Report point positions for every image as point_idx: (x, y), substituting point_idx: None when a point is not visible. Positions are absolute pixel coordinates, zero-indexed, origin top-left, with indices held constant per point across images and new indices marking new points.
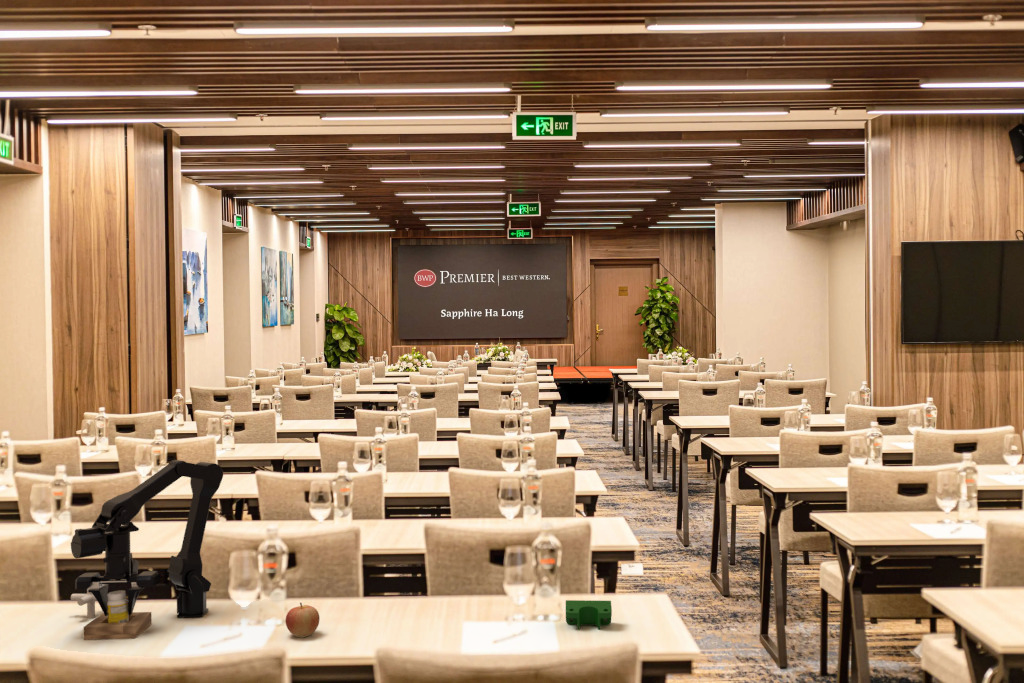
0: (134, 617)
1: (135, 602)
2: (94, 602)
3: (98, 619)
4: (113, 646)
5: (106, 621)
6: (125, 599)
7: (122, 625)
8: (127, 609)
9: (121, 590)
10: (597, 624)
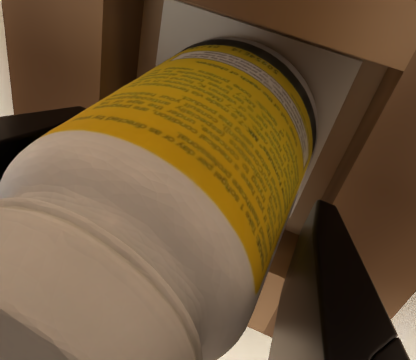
0: (370, 159)
1: (378, 320)
2: None
3: (44, 78)
4: (241, 345)
5: (115, 68)
6: (210, 344)
7: (259, 322)
8: (275, 252)
9: (25, 336)
10: None
